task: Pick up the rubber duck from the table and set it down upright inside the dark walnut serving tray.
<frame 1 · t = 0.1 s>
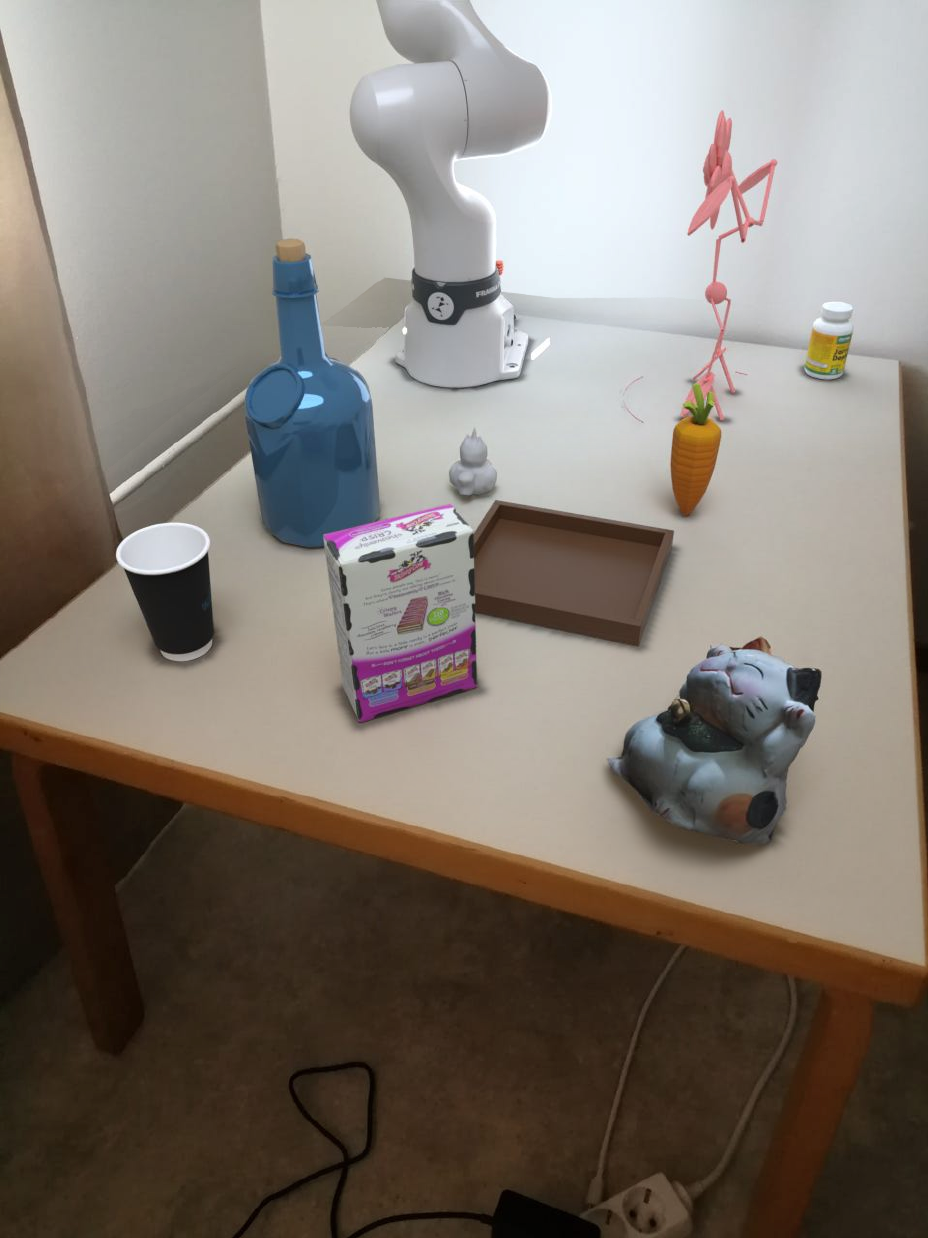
dixie cup: (186, 646, 91), on the table
supplement bottle: (822, 374, 138), on the table
serving tray: (560, 576, 99), on the table
candy bar box: (408, 691, 85), on the table
rubber duck: (472, 494, 112), on the table
lucky cat figurine: (701, 787, 76), on the table
figurine: (677, 399, 132), on the table
carrot: (685, 516, 108), on the table
wine bottle: (321, 521, 108), on the table
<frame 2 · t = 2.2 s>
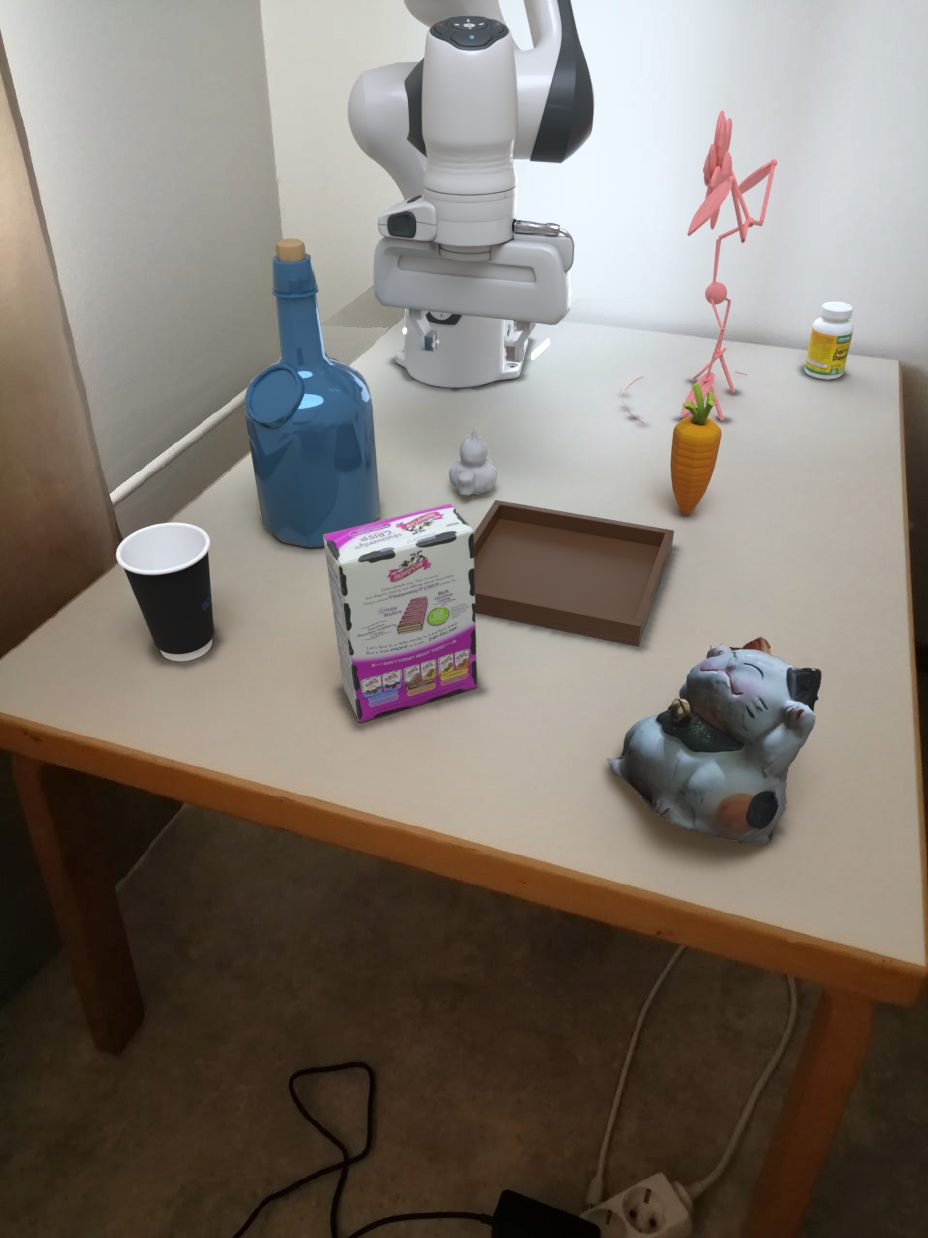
hand: (471, 354, 102), 17 cm above the table, tool pointing down, fingers open, 8 cm apart
nothing on the table moved.
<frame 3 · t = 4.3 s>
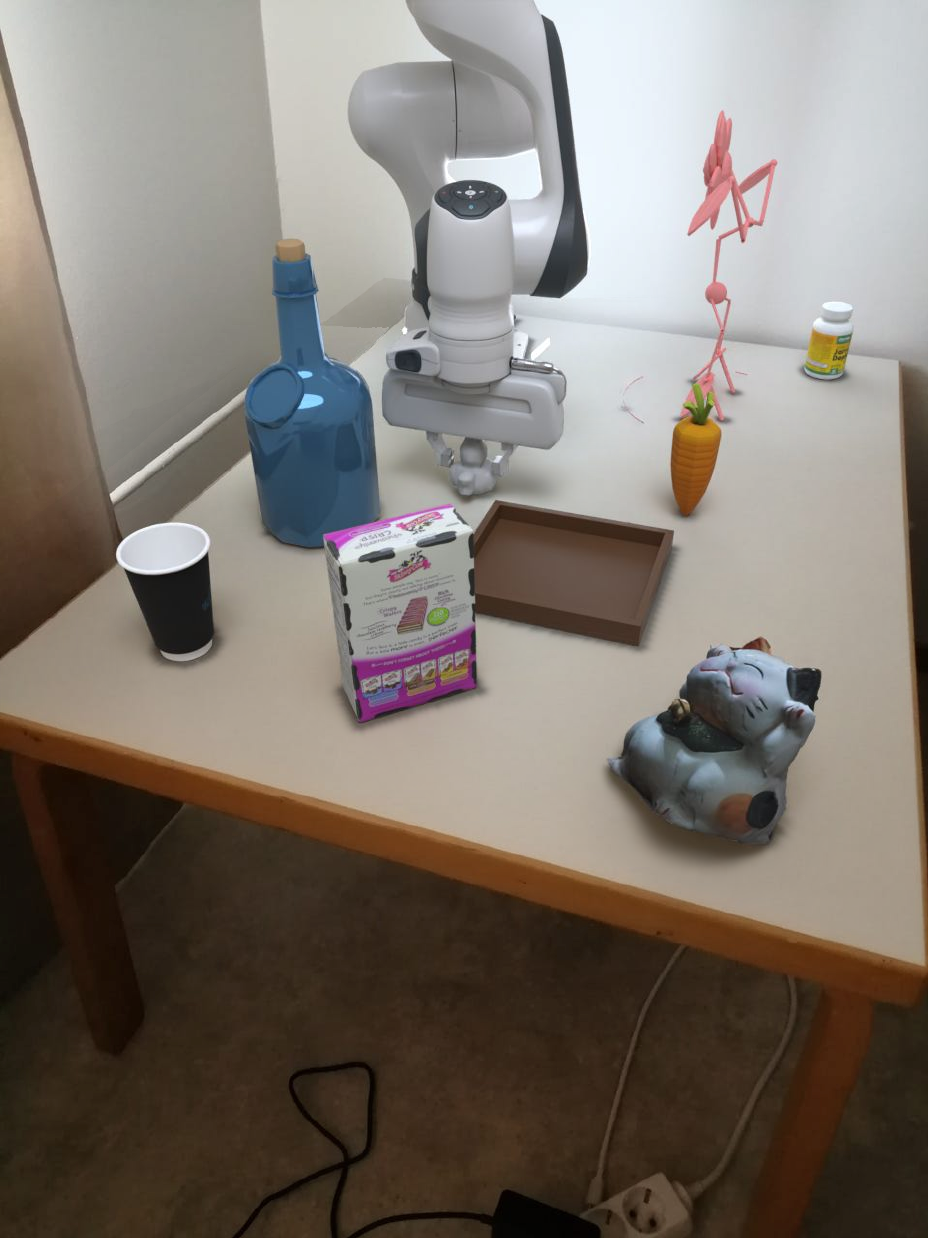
hand: (472, 469, 110), 3 cm above the table, tool pointing down, fingers closed on rubber duck, 5 cm apart
rubber duck: (472, 494, 112), on the table, touching gripper
everything else where it was.
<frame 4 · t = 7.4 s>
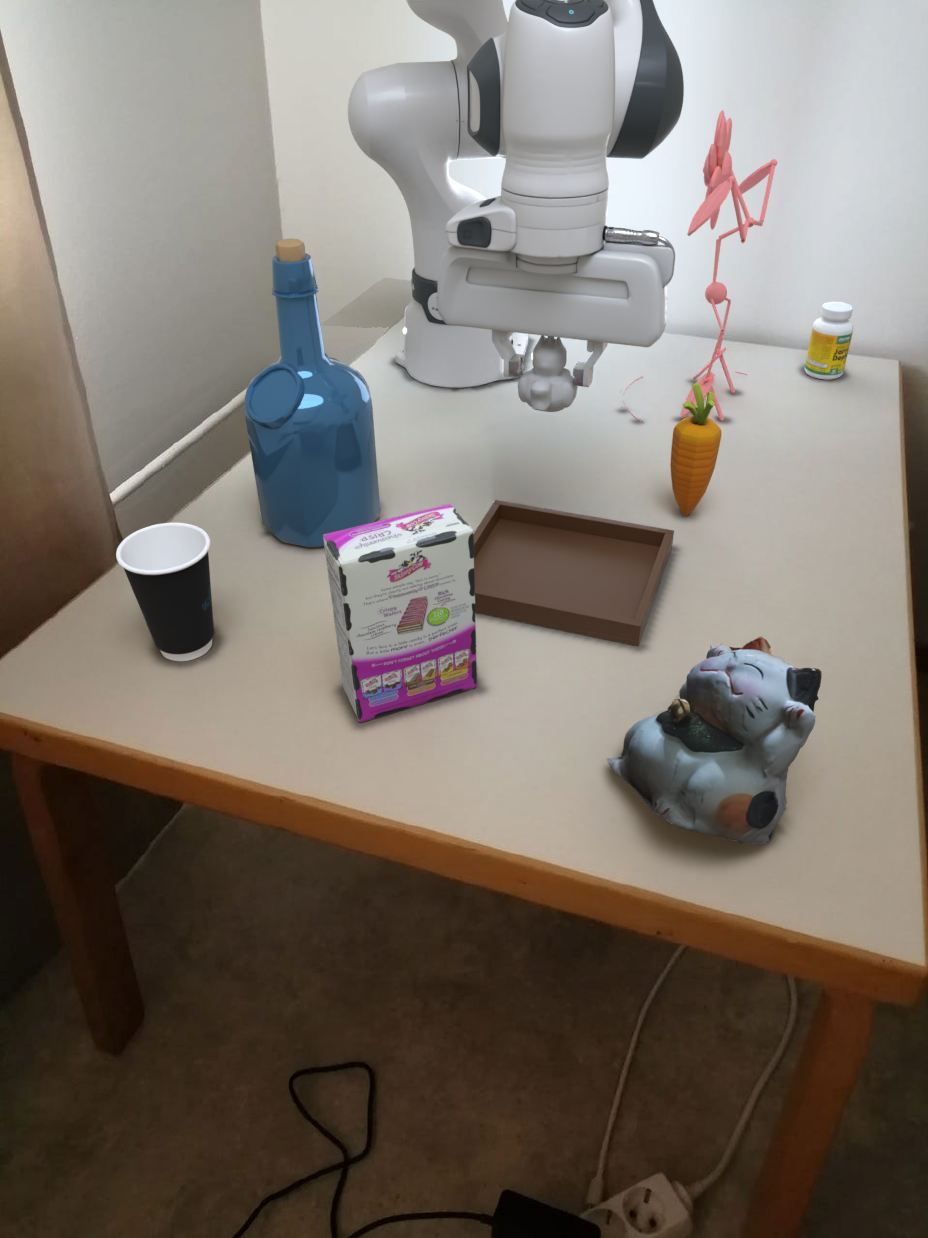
hand: (547, 379, 89), 20 cm above the table, tool pointing down, fingers closed on rubber duck, 5 cm apart
rubber duck: (546, 413, 91), point 16 cm above the table, touching gripper
everything else where it was.
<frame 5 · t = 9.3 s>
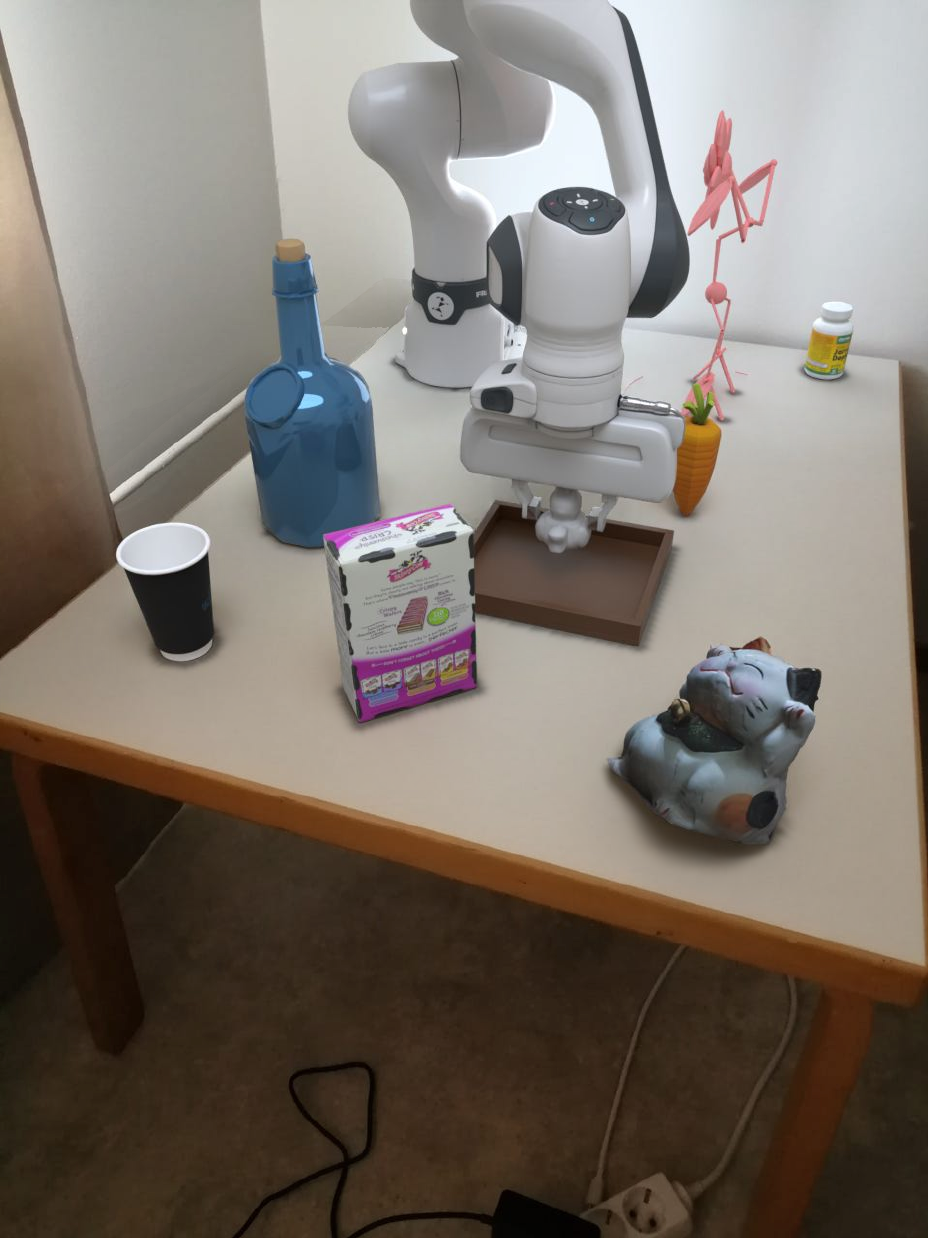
hand: (563, 522, 95), 6 cm above the table, tool pointing down, fingers closed on rubber duck, 5 cm apart
rubber duck: (561, 550, 97), point 3 cm above the table, touching gripper
everything else where it was.
when the fingers open (4 cm above the table, at t = 10.7 s): rubber duck stays where it is, resting on serving tray.
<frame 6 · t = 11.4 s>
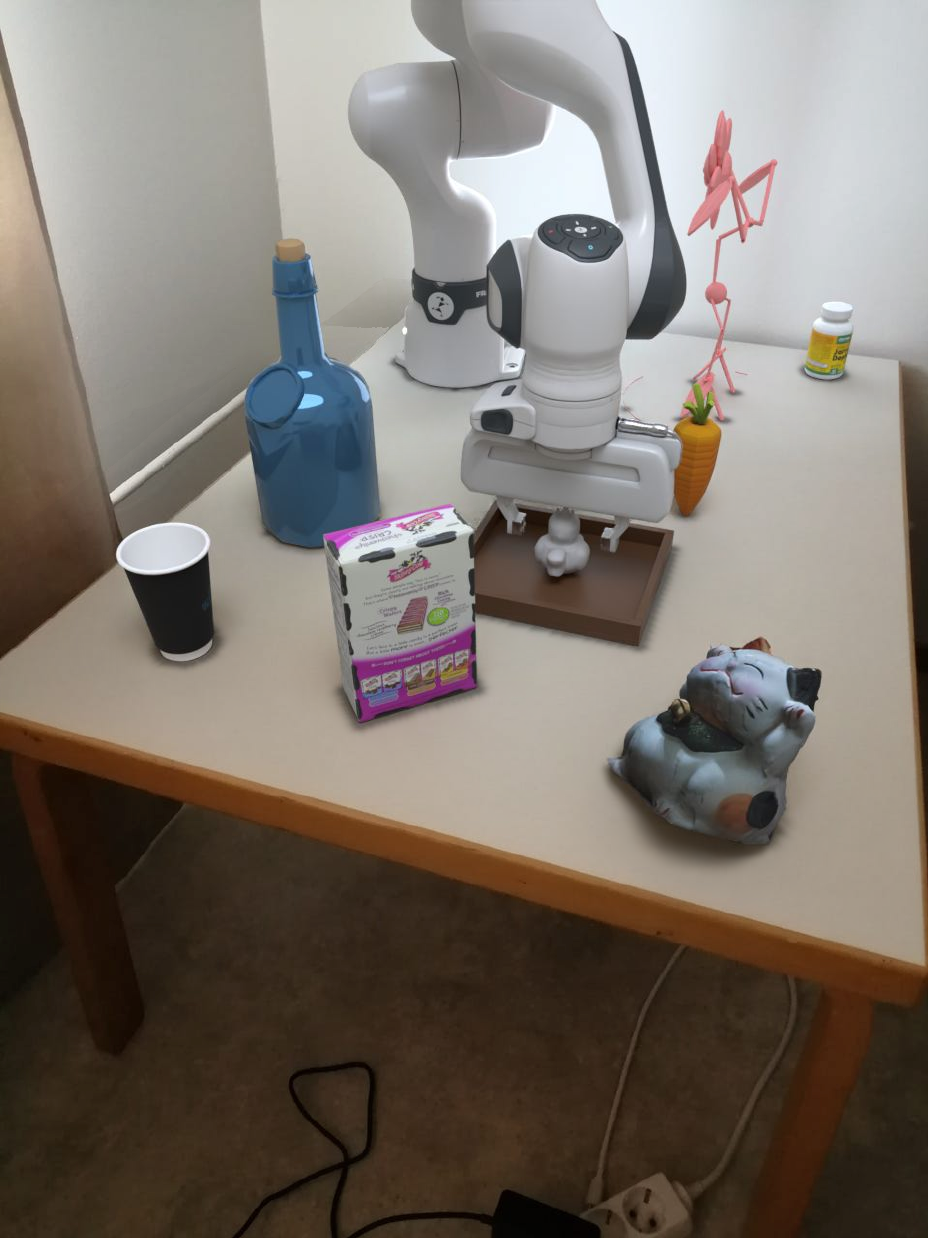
hand: (562, 540, 96), 4 cm above the table, tool pointing down, fingers open, 8 cm apart
rubber duck: (560, 573, 99), resting on serving tray
everything else where it was.
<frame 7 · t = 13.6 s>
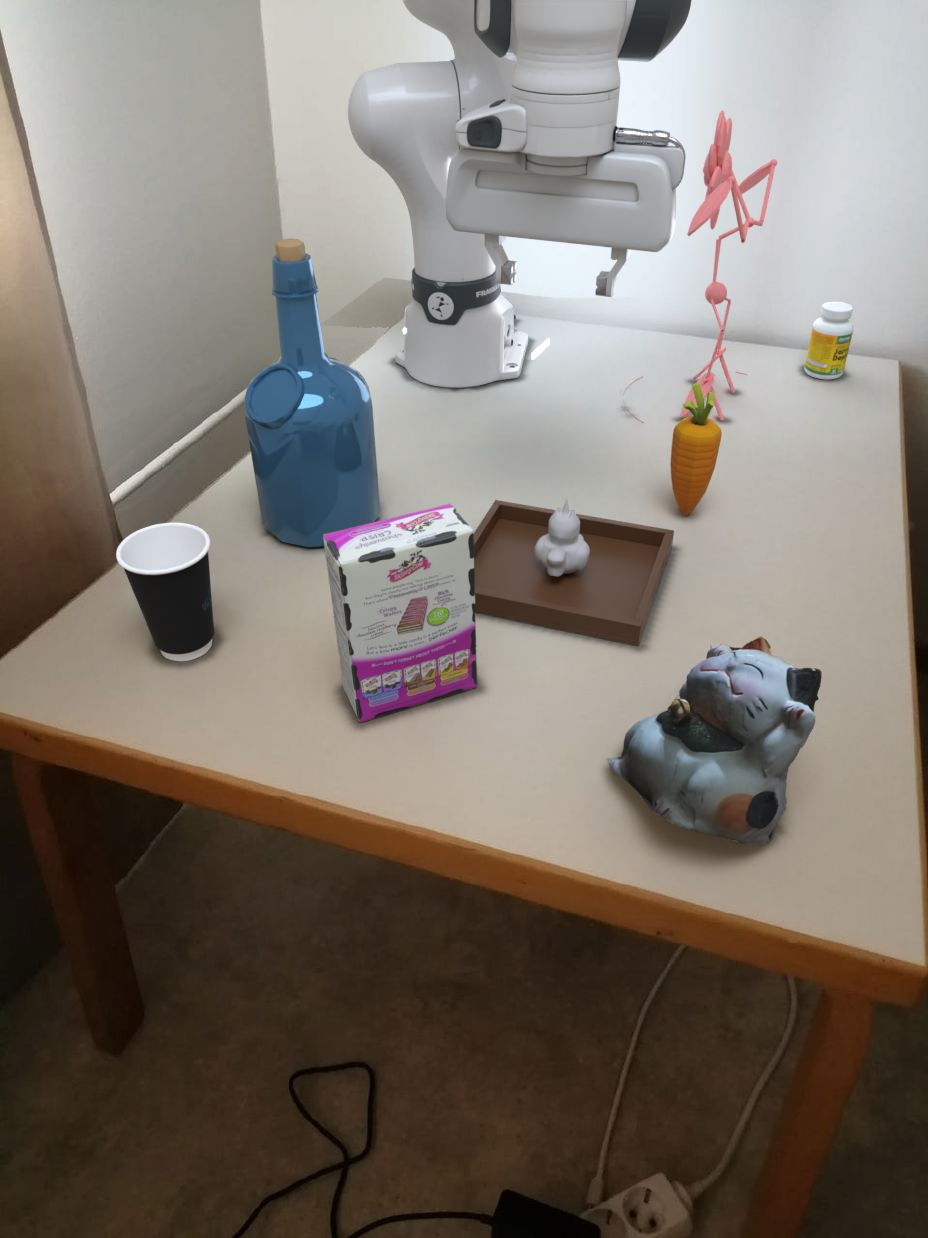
hand: (554, 288, 90), 26 cm above the table, tool pointing down, fingers open, 8 cm apart
nothing on the table moved.
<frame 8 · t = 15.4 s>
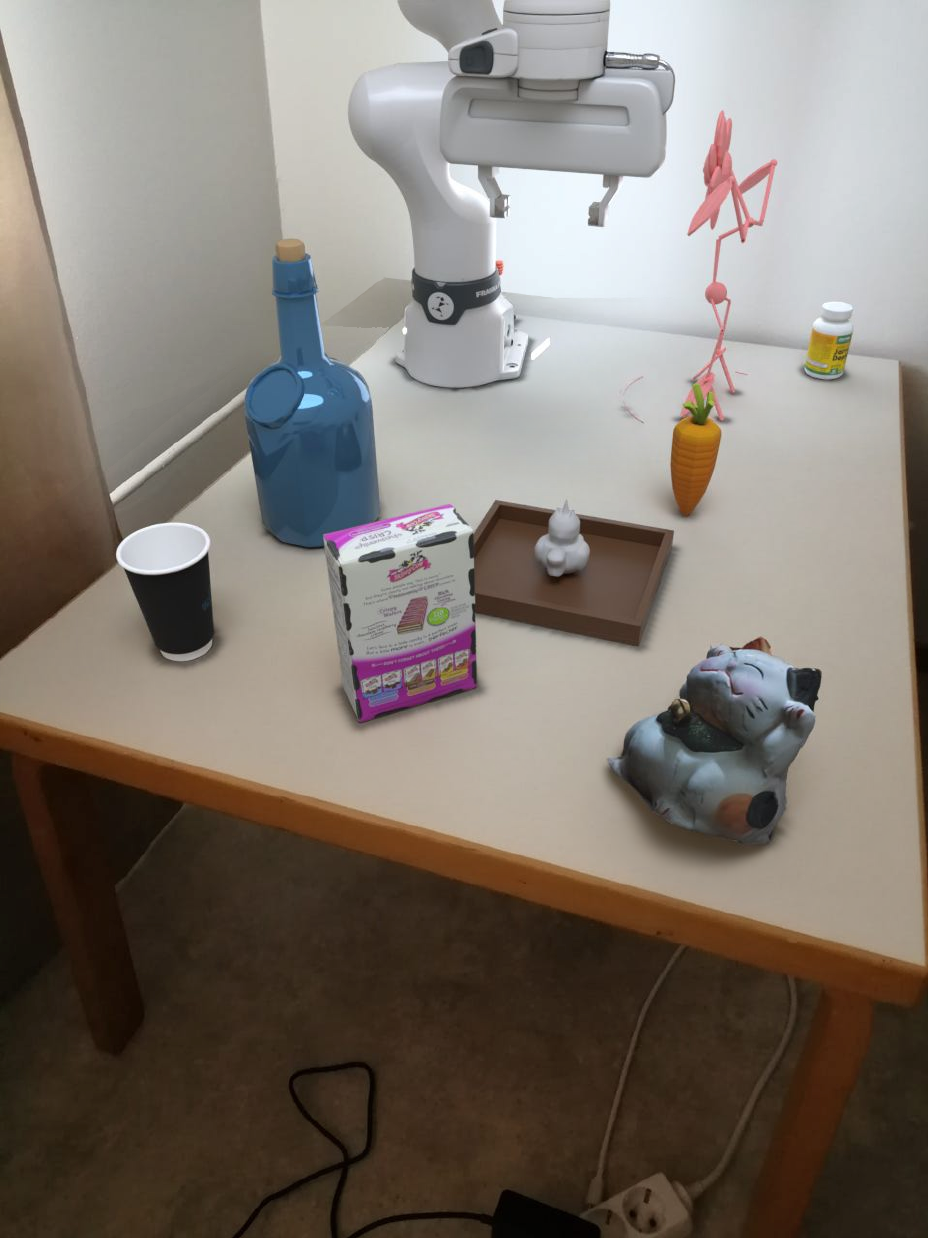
hand: (547, 220, 90), 31 cm above the table, tool pointing down, fingers open, 8 cm apart
nothing on the table moved.
at the end: rubber duck inside the target area in the serving tray (0.0 cm from its centre), point 0.4 cm above the serving tray's base; rubber duck tilted 0°; the gripper is holding nothing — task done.
